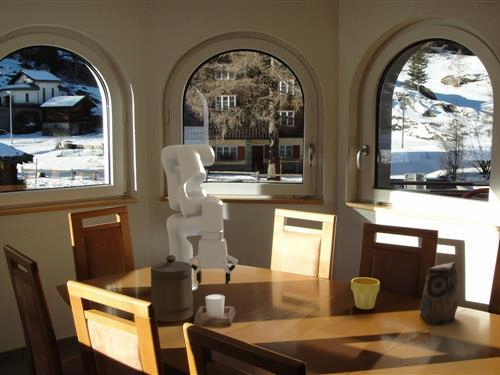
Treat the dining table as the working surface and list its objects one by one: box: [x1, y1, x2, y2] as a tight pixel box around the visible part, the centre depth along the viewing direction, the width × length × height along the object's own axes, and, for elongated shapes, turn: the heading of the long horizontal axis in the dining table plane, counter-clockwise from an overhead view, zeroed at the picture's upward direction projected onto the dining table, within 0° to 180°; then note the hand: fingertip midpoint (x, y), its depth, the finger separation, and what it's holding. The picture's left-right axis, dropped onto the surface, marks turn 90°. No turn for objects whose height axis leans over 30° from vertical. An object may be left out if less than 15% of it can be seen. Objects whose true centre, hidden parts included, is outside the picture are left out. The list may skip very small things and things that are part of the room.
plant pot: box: [350, 277, 381, 310], centre depth 206 cm, size 10×10×10 cm
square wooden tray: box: [192, 305, 236, 327], centre depth 196 cm, size 13×13×2 cm
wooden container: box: [150, 254, 194, 323], centre depth 200 cm, size 15×15×22 cm
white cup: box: [204, 293, 226, 317], centre depth 196 cm, size 7×7×7 cm
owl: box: [419, 261, 459, 327], centre depth 190 cm, size 13×13×20 cm
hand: (213, 283), depth 195 cm, fingers open, 9 cm apart
